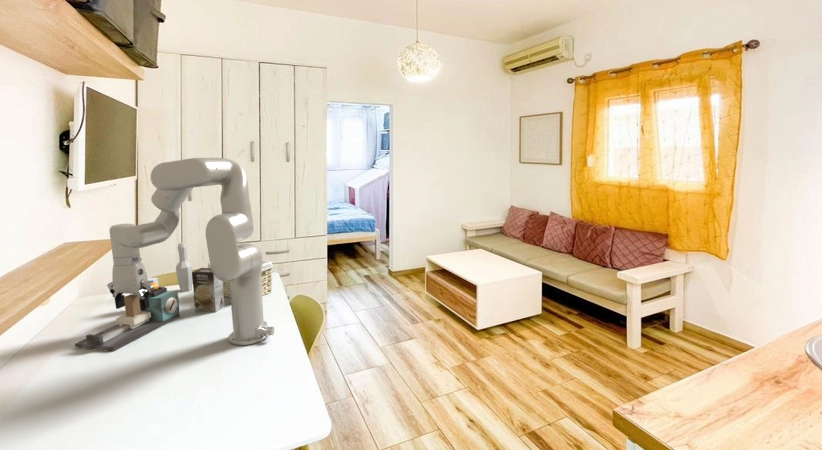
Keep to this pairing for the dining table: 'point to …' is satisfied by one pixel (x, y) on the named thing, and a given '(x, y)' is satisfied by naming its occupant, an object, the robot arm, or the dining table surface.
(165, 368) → the dining table surface
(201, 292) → the coffee box
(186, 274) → the faceted bottle
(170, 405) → the dining table surface
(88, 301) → the dining table surface
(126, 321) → the carriage
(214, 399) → the dining table surface
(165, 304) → the rail board
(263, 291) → the storage basket
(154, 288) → the orange rounded knob
